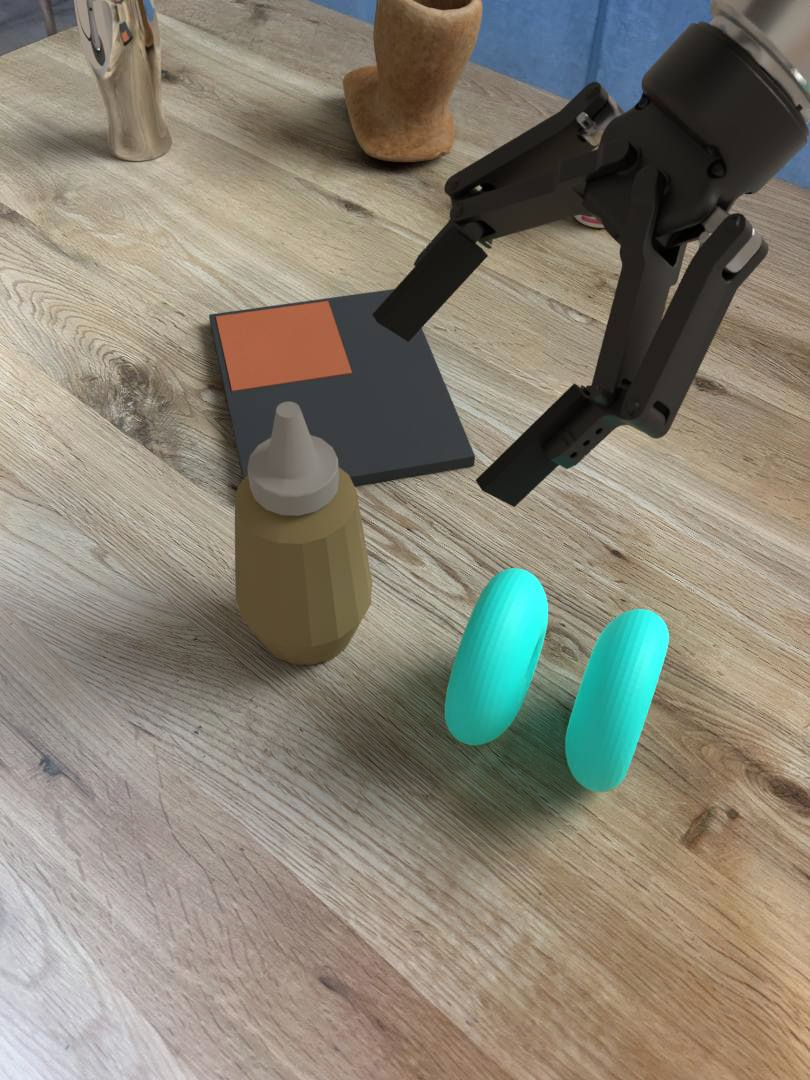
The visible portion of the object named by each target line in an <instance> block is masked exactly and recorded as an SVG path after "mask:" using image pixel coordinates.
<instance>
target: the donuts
mask: <svg viewBox="0 0 810 1080" xmlns="http://www.w3.org/2000/svg"><path fill="white" fill-rule="evenodd" d="M548 623H549V602H548V598H547V593H546V591H545V589H544V587H543V584H542V583H541V582H540V580H539V579H538V578H537V577H536V576H535V574H533V573H532V572H530V571H528V570H527V569H523V568H520V567H519V568H518V567H511V568H506V569H503V570H501V571H499V572H498V573H496V574H495V575H493V576H492V578H490V580H489V581H488V582H487V584H486V585H485V586H484V588H483V590H482V591H481V593H480V595H479V596H478V599H477V601H476V603H475V605H474V607H473V609H472V611H471V614H470V615H469V618H468V620H467V623H466V626H465V629H464V631H463V634H462V636H461V640H460V642H459V645H458V649H457V651H456V655H455V657H454V661H453V663H452V664H453V665H452V666H451V667H452V668H451V672H450V676H449V678H448V685H447V688H446V694H445V702H444V719H445V723H446V727H447V729H448V731H449V733H451V735H452V736H453V738H455V739H456V740H457V741H459V742H461V743H463V744H465V745H470V746H481V745H485V744H489V743H490V742H492V741H494V740H496V739H497V738H499V737H500V736H502V735H503V734H504V733H505V732H506V730H508V729H509V727H510V726H511V725H512V724H513V722H514V721H515V719H516V718H517V715H518V714H519V712H520V710H521V708H522V706H523V704H524V701H525V699H526V697H527V694H528V691H529V689H530V686H531V684H532V681H533V678H534V675H535V672H536V669H537V666H538V663H539V660H540V657H541V653H542V649H543V646H544V642H545V638H546V634H547V631H548V630H547V629H548ZM669 644H670V632H669V628H668V625H667V624H666V622H665V621H664V619H663V618H662V617H661V616H660V615H659V614H657V613H656V612H654V611H652V610H650V609H645V608H634V609H630V610H626V611H624V612H622V613H620V614H618V615H617V616H615V617H614V618H613V619H612V620H611V621H610V622H608V623H607V624H606V626H605V627H604V628H603V629H602V631H601V632H600V634H599V636H598V637H597V640H596V641H595V644H594V646H593V649H592V651H591V653H590V656H589V659H588V662H587V665H586V668H585V669H584V670H585V671H584V673H583V676H582V678H581V679H582V680H581V683H580V685H579V688H578V691H577V693H576V698H575V701H574V703H573V707H572V710H571V713H570V717H569V720H568V725H567V728H566V732H565V733H566V734H565V741H564V750H565V757H566V762H567V766H568V768H569V771H570V773H571V775H572V776H573V778H574V779H575V781H576V782H577V783H579V785H581V786H582V787H583V788H585V789H586V790H588V791H592V792H595V793H596V792H597V793H604V792H609V791H612V790H614V789H616V788H617V787H618V786H620V785H621V783H622V782H623V781H624V780H625V778H626V775H627V774H628V771H629V769H630V766H631V763H632V760H633V757H634V756H635V755H634V754H635V753H636V749H637V745H638V743H639V740H640V737H641V734H642V731H643V728H644V726H645V722H646V720H647V717H648V713H649V711H650V707H651V704H652V700H653V698H654V695H655V692H656V688H657V686H658V682H659V678H660V675H661V673H662V668H663V665H664V662H665V659H666V656H667V652H668V648H669Z"/></svg>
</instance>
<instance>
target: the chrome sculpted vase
mask: <svg viewBox="0 0 810 1080" xmlns="http://www.w3.org/2000/svg"><path fill="white" fill-rule="evenodd" d="M73 6H74V14H75V21H76V25H77V26H76V27H77V31H78V36H79V41H80V45H81V49H82V52H83V55H84V58H85V61H86V64H87V67H88V69H89V71H90V74H91V77H92V79H93V82H94V85H95V87H96V89H97V92H98V94H99V97H100V99H101V103H102V105H103V110H104V113H105V118H106V126H107V127H106V128H107V133H106V135H107V149H108V151H109V152H110V154H111V155H113V156H114V157H115V158H118V159H120V160H123V161H129V162H144V161H150V160H154V159H157V158H160V157H162V156H163V155H165V154H167V152H169V150H170V149H171V147H172V145H173V137H172V135H171V132H170V129H169V126H168V124H167V121H166V118H165V114H164V110H163V101H162V44H161V43H162V41H161V33H160V26H159V21H158V16H157V11H156V7H155V6H156V5H155V2H154V0H73Z"/></svg>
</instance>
